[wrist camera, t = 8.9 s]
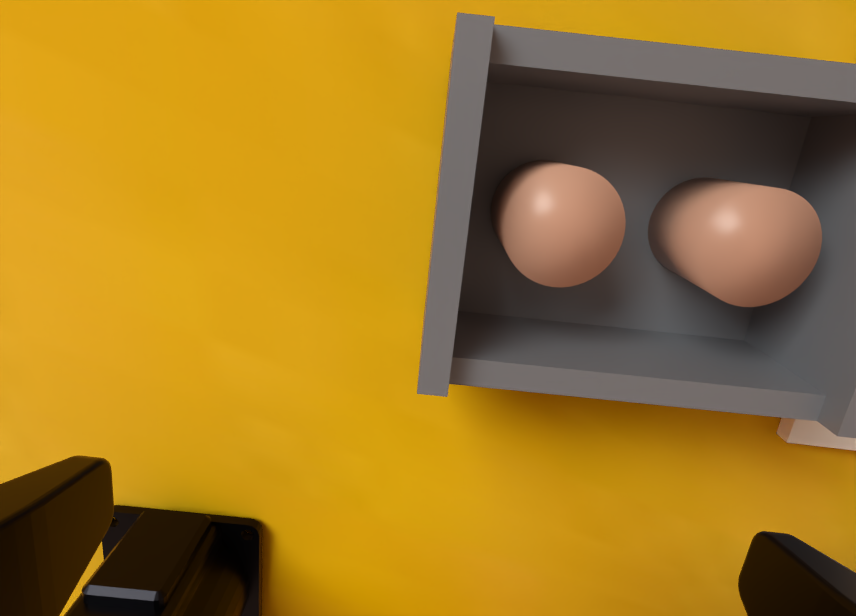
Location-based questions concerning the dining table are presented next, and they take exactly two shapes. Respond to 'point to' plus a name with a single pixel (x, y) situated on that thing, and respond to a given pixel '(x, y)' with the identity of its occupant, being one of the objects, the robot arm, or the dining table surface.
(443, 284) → the grey open box
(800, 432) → the lid
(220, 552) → the robot arm
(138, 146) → the dining table surface
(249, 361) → the dining table surface
